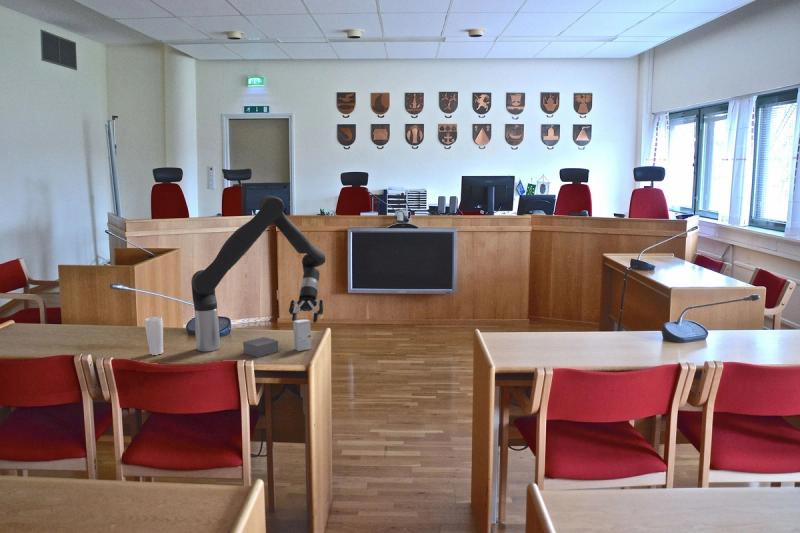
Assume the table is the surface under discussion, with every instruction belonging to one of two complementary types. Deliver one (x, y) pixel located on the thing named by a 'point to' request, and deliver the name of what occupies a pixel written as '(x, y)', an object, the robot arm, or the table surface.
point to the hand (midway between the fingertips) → (304, 322)
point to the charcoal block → (260, 346)
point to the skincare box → (302, 335)
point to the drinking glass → (154, 334)
